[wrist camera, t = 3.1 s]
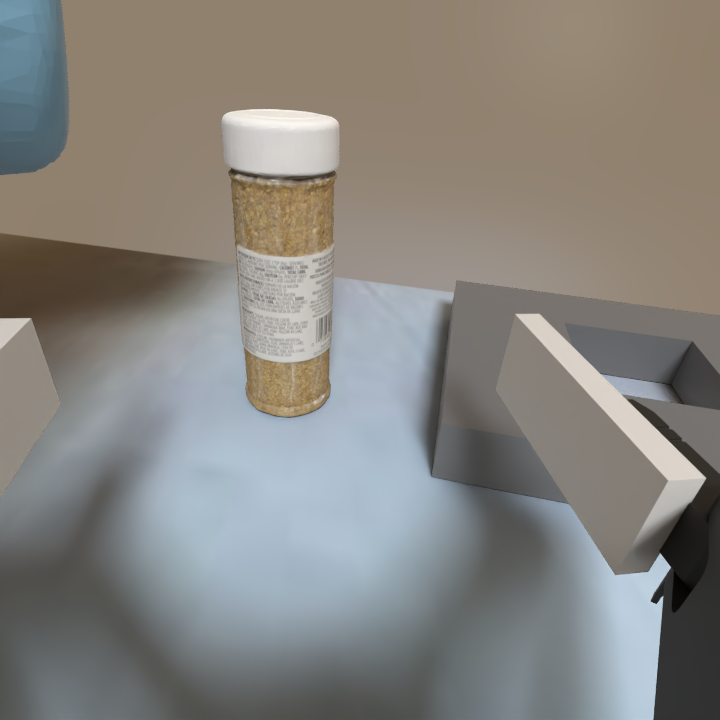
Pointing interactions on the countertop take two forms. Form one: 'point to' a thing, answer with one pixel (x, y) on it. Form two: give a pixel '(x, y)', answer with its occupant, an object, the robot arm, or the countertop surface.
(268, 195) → the sprinkles bottle
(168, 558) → the countertop surface
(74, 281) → the countertop surface
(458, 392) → the socket plate
